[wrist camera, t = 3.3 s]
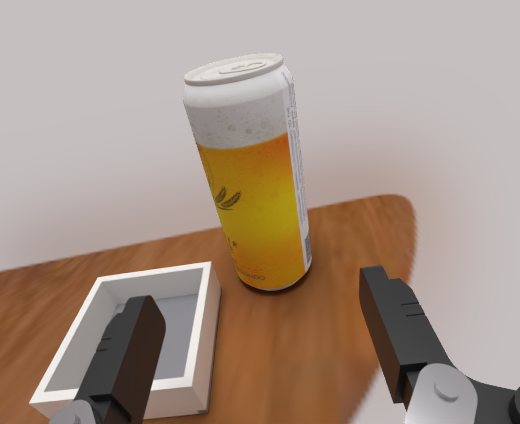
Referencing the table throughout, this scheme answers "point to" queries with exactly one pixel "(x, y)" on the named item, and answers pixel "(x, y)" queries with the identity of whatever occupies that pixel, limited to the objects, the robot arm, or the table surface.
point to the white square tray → (173, 349)
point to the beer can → (253, 164)
